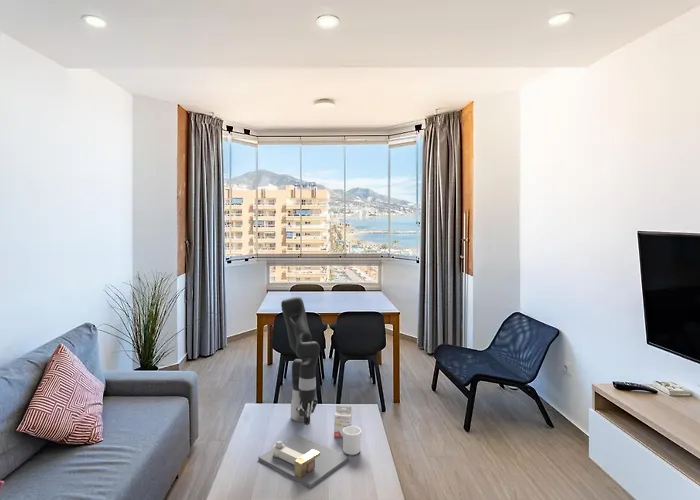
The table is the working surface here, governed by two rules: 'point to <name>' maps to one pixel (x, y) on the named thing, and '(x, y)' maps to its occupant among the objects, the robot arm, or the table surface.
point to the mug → (351, 440)
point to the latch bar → (290, 455)
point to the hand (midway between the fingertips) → (306, 424)
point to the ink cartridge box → (342, 420)
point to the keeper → (304, 462)
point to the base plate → (323, 463)
